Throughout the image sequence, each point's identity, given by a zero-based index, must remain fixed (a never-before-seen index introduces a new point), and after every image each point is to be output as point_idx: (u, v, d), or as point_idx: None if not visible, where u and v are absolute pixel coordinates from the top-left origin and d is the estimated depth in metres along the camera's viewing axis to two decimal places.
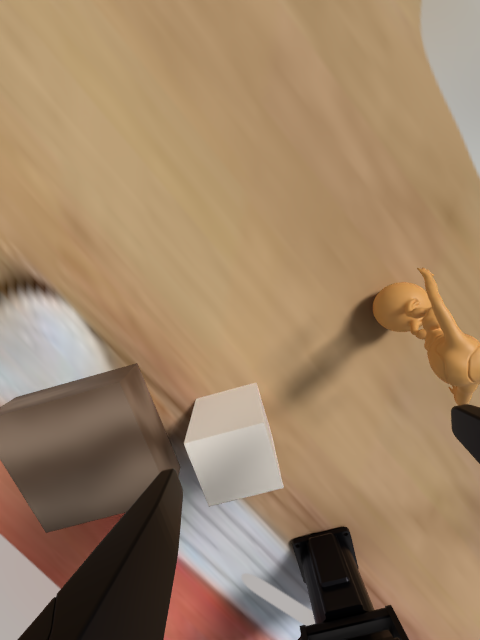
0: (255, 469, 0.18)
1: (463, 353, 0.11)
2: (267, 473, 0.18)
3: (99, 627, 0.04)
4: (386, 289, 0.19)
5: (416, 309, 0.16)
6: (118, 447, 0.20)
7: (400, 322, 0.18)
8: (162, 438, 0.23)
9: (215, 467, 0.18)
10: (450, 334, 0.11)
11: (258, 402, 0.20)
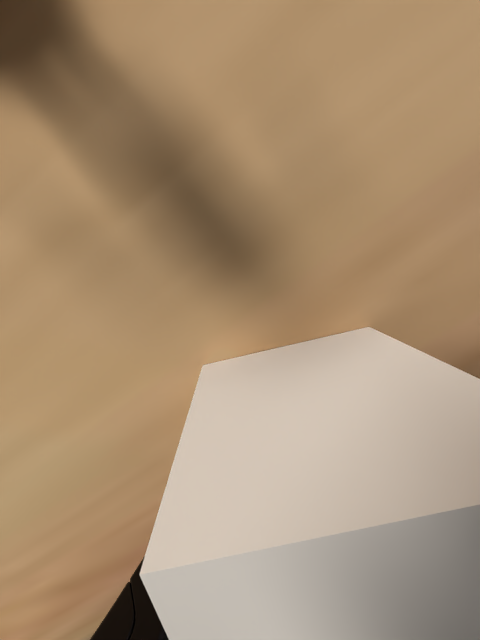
0: (459, 606, 0.03)
1: None
2: None
3: None
4: None
5: None
6: None
7: None
8: None
9: None
10: None
11: None
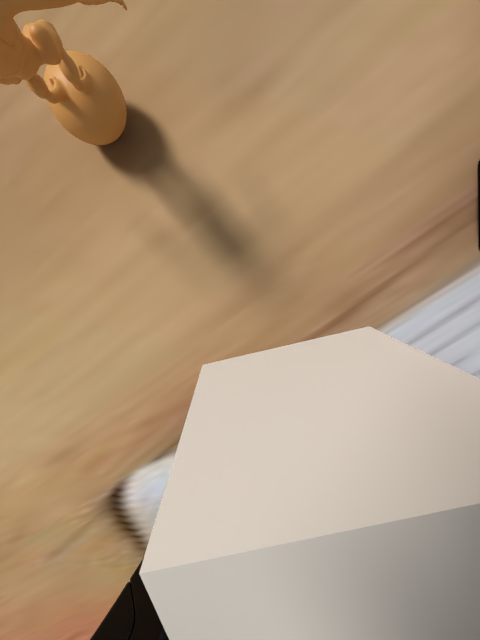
0: (458, 605, 0.03)
1: None
2: None
3: None
4: (65, 128, 0.14)
5: None
6: None
7: (90, 105, 0.13)
8: None
9: None
10: None
11: None
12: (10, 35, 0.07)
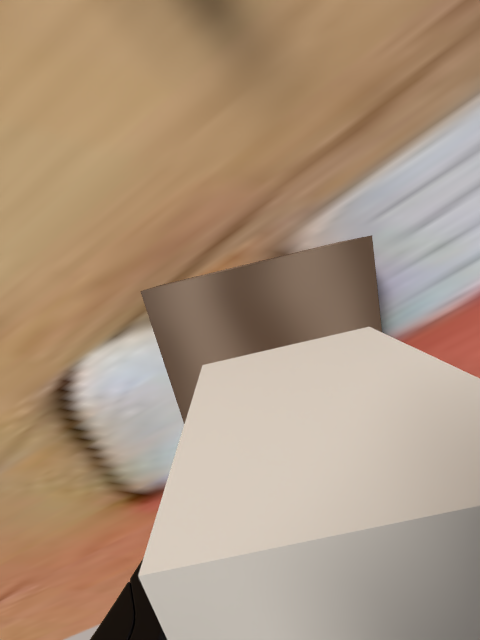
0: (460, 607, 0.03)
1: None
2: None
3: None
4: None
5: None
6: (255, 310, 0.13)
7: None
8: (275, 257, 0.15)
9: None
10: None
11: None
12: None
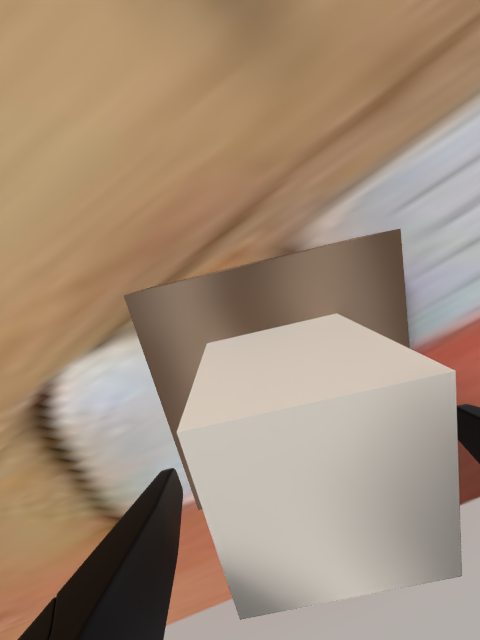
0: (355, 457, 0.06)
1: None
2: (378, 423, 0.05)
3: (99, 627, 0.04)
4: None
5: None
6: (260, 318, 0.11)
7: None
8: None
9: (327, 556, 0.06)
10: None
11: None
12: None
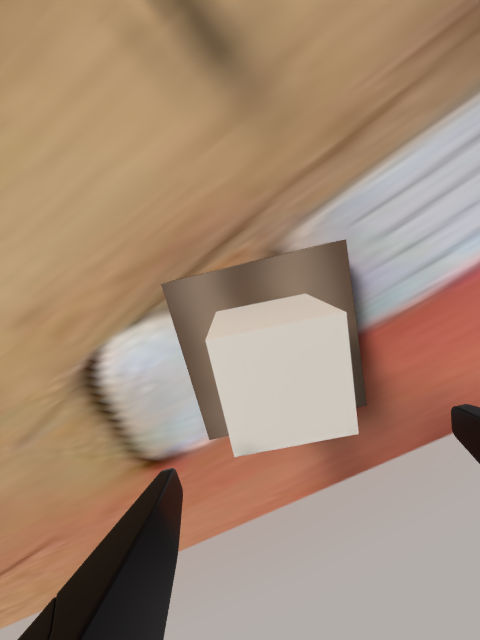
0: (297, 358, 0.11)
1: None
2: (308, 339, 0.10)
3: (99, 627, 0.04)
4: None
5: None
6: (253, 300, 0.16)
7: None
8: (269, 257, 0.18)
9: (283, 417, 0.11)
10: None
11: None
12: None
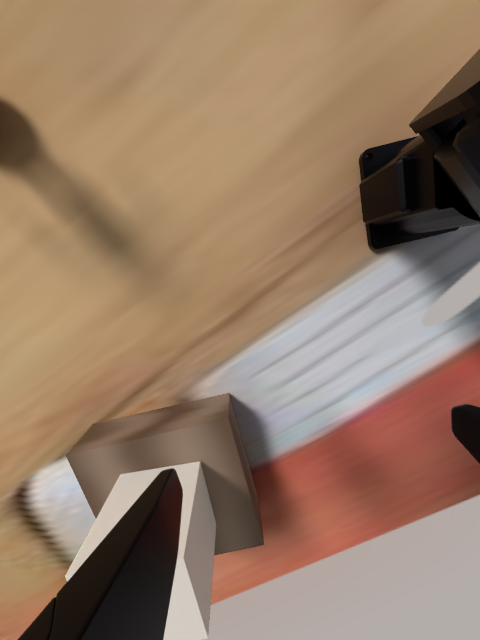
0: None
1: None
2: None
3: (99, 627, 0.04)
4: None
5: None
6: (150, 465, 0.18)
7: None
8: (175, 411, 0.20)
9: None
10: None
11: (95, 523, 0.15)
12: None
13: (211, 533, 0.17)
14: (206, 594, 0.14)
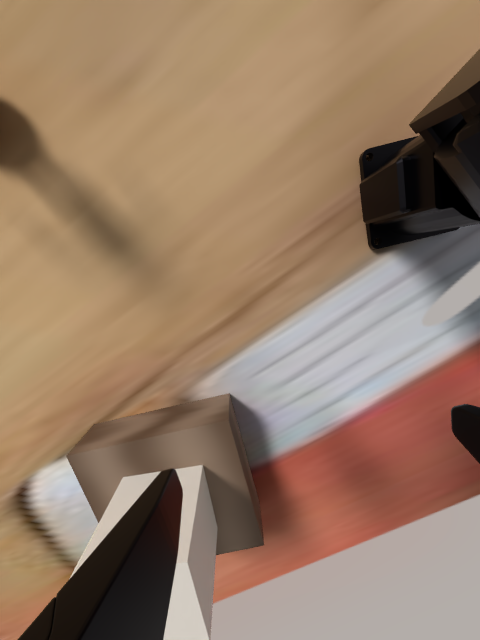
0: None
1: None
2: None
3: (99, 627, 0.04)
4: None
5: None
6: (150, 466, 0.18)
7: None
8: (175, 412, 0.20)
9: None
10: None
11: None
12: None
13: (213, 537, 0.18)
14: (208, 598, 0.14)
